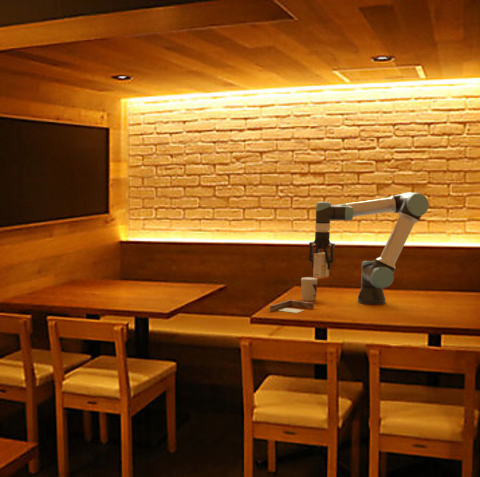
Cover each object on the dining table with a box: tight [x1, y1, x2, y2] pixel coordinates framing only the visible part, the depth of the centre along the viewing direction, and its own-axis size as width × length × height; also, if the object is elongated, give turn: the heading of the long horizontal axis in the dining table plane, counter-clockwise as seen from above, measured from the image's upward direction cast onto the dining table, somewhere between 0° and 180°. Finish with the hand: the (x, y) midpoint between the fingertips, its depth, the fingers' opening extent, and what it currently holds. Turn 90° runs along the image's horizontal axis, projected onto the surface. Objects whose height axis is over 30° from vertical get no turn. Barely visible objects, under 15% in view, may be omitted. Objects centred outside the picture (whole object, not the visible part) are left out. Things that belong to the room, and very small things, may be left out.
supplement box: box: [312, 251, 331, 280], centre depth 359 cm, size 8×5×13 cm, turn 138°
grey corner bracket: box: [269, 299, 315, 313], centre depth 353 cm, size 14×20×3 cm
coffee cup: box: [300, 276, 319, 302], centre depth 383 cm, size 9×9×12 cm
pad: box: [277, 307, 305, 314], centre depth 352 cm, size 11×8×1 cm
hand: (320, 275), depth 360 cm, fingers closed on supplement box, 6 cm apart
